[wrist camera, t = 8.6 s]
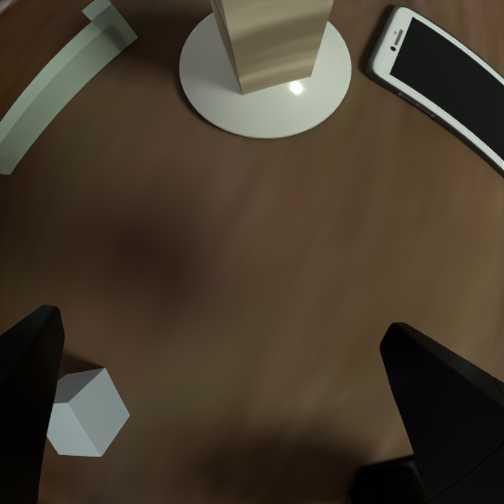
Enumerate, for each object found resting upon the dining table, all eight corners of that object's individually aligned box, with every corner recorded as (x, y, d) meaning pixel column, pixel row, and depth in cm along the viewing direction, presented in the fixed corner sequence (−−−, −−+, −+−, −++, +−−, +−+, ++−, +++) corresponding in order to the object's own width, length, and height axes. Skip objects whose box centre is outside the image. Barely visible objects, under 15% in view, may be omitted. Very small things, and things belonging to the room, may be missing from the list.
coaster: (335, 4, 15) (337, -1, 15) (358, 139, 16) (361, 136, 16) (184, 11, 16) (182, 6, 15) (181, 146, 17) (178, 144, 16)
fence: (138, 37, 16) (112, 3, 12) (10, 174, 18) (-32, 170, 13) (128, 27, 16) (101, -6, 12) (3, 161, 17) (-37, 155, 13)
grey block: (105, 367, 19) (67, 402, 14) (130, 415, 19) (101, 456, 14) (66, 374, 19) (28, 404, 14) (90, 418, 19) (59, 454, 14)
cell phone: (520, 197, 16) (528, 196, 15) (359, 76, 16) (363, 70, 15) (535, 118, 15) (542, 116, 14) (392, 6, 15) (396, -1, 14)
